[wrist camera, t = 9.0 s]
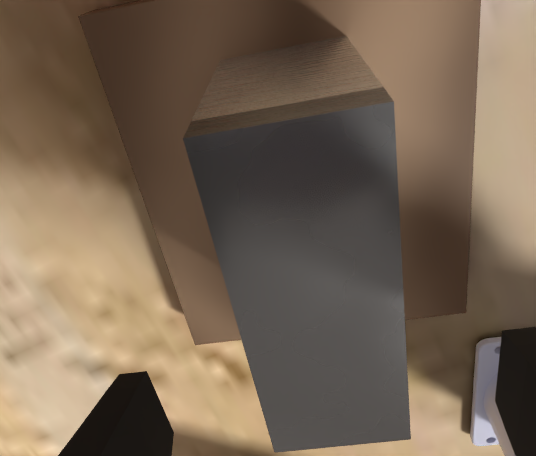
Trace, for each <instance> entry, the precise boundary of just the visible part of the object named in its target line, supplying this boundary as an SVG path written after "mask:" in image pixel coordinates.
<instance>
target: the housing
mask: <svg viewBox="0 0 536 456" xmlns="http://www.w3.org/2000/svg"><path fill="white" fill-rule="evenodd" d="M183 141H184V144H185V148H186V151H187V155H188V158H189V161H190V165H191V168H192V172H193V175H194V178H195V182H196V185H197V189H198V192H199V196H200V199H201V202H202V206H203V209H204V213H205V216H206V219H207V223H208V226H209V230H210V233H211V237H212V240H213V243H214V247H215V250H216V254H217V257H218V261H219V264H220V267H221V271H222V274H223V278H224V281H225V284H226V288H227V291H228V295H229V298H230V302H231V305H232V308H233V312H234V315H235V319H236V322H237V325H238V329H239V332H240V336H241V339H242V343H243V346H244V349H245V353H246V356H247V360H248V363H249V366H250V370H251V373H252V377H253V380H254V384H255V387H256V390H257V394H258V397H259V401H260V404H261V408H262V411H263V414H264V418H265V421H266V425H267V428H268V431H269V435H270V438H271V442H272V445H273V449H274V452H285V451H295V450H306V449H316V448H326V447H336V446H347V445H357V444H367V443H377V442H388V441H398V440H408V439H411V435H410V415H409V395H408V375H407V354H406V334H405V314H404V294H403V274H402V253H401V233H400V213H399V193H398V173H397V153H396V132H395V112H394V101H393V99H392V98H391V97H390V95H389V94H388V93H387V91H386V90H385V88H384V87H383V86H382V84H381V83H380V81H379V80H378V79H377V77H376V76H375V75H374V73H373V72H372V70H371V69H370V68H369V66H368V65H367V64H366V62H365V61H364V59H363V58H362V57H361V55H360V54H359V53H358V51H357V50H356V48H355V47H354V46H353V44H352V43H351V41H350V40H349V39H348V37H347V36H343V37H337V38H332V39H327V40H322V41H317V42H311V43H306V44H301V45H296V46H291V47H285V48H280V49H275V50H270V51H265V52H259V53H254V54H249V55H244V56H239V57H233V58H228V59H223V60H220V62H219V64H218V66H217V68H216V70H215V72H214V74H213V77H212V79H211V81H210V83H209V85H208V87H207V89H206V91H205V93H204V95H203V97H202V99H201V102H200V104H199V106H198V108H197V110H196V112H195V114H194V116H193V118H192V120H191V122H190V124H189V126H188V129H187V131H186V133H185V135H184V137H183Z"/></svg>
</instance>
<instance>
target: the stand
mask: <svg viewBox="0 0 536 456" xmlns="http://www.w3.org/2000/svg"><path fill="white" fill-rule="evenodd" d="M480 7H481V0H142V1H137V2H132V3H127V4H122V5H117V6H112V7H107V8H102V9H97V10H93V11H91V12H88V13H86V14H83V15H80V16H78V17H79V19H80V22H81V25H82V28H83V31H84V34H85V36H86V39H87V42H88V45H89V48H90V50H91V53H92V56H93V59H94V62H95V65H96V67H97V70H98V73H99V76H100V79H101V81H102V84H103V87H104V90H105V93H106V95H107V98H108V101H109V104H110V107H111V110H112V112H113V115H114V118H115V121H116V124H117V126H118V129H119V132H120V135H121V138H122V141H123V143H124V146H125V149H126V152H127V155H128V157H129V160H130V163H131V166H132V169H133V172H134V174H135V177H136V180H137V183H138V186H139V188H140V191H141V194H142V197H143V200H144V202H145V205H146V208H147V211H148V214H149V217H150V219H151V222H152V225H153V228H154V231H155V233H156V236H157V239H158V242H159V245H160V248H161V250H162V253H163V256H164V259H165V262H166V264H167V267H168V270H169V273H170V276H171V279H172V281H173V284H174V287H175V290H176V293H177V295H178V298H179V301H180V304H181V307H182V309H183V312H184V315H185V318H186V321H187V324H188V326H189V329H190V332H191V335H192V338H193V340H194V343H195V345H201V344H209V343H217V342H225V341H234V340H242V339H241V336H240V332H239V329H238V325H237V322H236V319H235V315H234V312H233V308H232V305H231V302H230V298H229V295H228V291H227V288H226V284H225V281H224V278H223V274H222V271H221V267H220V264H219V261H218V257H217V254H216V250H215V247H214V243H213V240H212V237H211V233H210V230H209V226H208V223H207V219H206V216H205V213H204V209H203V206H202V202H201V199H200V196H199V192H198V189H197V185H196V182H195V178H194V175H193V172H192V168H191V165H190V161H189V158H188V155H187V151H186V148H185V144H184V141H183V137H184V135H185V133H186V131H187V129H188V126H189V124H190V122H191V120H192V118H193V116H194V114H195V112H196V110H197V108H198V106H199V104H200V102H201V99H202V97H203V95H204V93H205V91H206V89H207V87H208V85H209V83H210V81H211V79H212V77H213V74H214V72H215V70H216V68H217V66H218V64H219V62H220V60H223V59H228V58H233V57H239V56H244V55H249V54H254V53H259V52H265V51H270V50H275V49H280V48H285V47H291V46H296V45H301V44H306V43H311V42H317V41H322V40H327V39H332V38H337V37H343V36H347V37H348V39H349V40H350V41H351V43H352V44H353V46H354V47H355V48H356V50H357V51H358V53H359V54H360V55H361V57H362V58H363V59H364V61H365V62H366V64H367V65H368V66H369V68H370V69H371V70H372V72H373V73H374V75H375V76H376V77H377V79H378V80H379V81H380V83H381V84H382V86H383V87H384V88H385V90H386V91H387V93H388V94H389V95H390V97H391V98H392V99H393V101H394V112H395V132H396V153H397V173H398V193H399V213H400V233H401V253H402V274H403V294H404V314H405V320H409V319H417V318H425V317H434V316H442V315H450V314H459V313H466V305H467V283H468V262H469V241H470V219H471V198H472V177H473V156H474V134H475V113H476V92H477V71H478V49H479V28H480Z"/></svg>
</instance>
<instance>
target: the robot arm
mask: <svg viewBox="0 0 536 456" xmlns="http://www.w3.org/2000/svg"><path fill="white" fill-rule="evenodd" d="M499 346H500V347H499ZM497 347H498V348H497ZM173 434H174V432H173V430H172V427H171V425H170V423H169V421H168V418H167V416H166V414H165V412H164V409H163V407H162V405H161V403H160V400H159V398H158V396H157V394H156V391H155V389H154V387H153V384H152V382H151V380H150V378H149V375H148V373H147V371H144V372H136V373H127V374H119V375H118V377H117V378H116V379H115V381H114V382H113V383H112V384H111V386H110V387H109V388H108V390H107V391H106V392H105V394H104V395H103V396H102V398H101V399H100V400H99V402H98V403H97V404H96V406H95V407H94V409H93V410H92V411H91V413H90V414H89V415H88V417H87V418H86V419H85V421H84V422H83V423H82V425H81V426H80V427H79V429H78V430H77V431H76V433H75V434H74V435H73V437H72V438H71V439H70V441H69V442H68V443H67V445H66V446H65V447H64V449H63V450H62V451H61V452H60V454H59V455H58V456H171V455H172V445H173ZM470 437H471V440H472V443H473V444H474V445H477V446H487V445H498V444H500V446H501V449H502V451H503V453H504V455H505V456H536V327H531V328H522V329H514V330H505V331H502V336H501V337H494V338H486V339H483V340H481V341H479V342H478V344H477V345H476V354H475V370H474V386H473V401H472V417H471V432H470Z"/></svg>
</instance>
